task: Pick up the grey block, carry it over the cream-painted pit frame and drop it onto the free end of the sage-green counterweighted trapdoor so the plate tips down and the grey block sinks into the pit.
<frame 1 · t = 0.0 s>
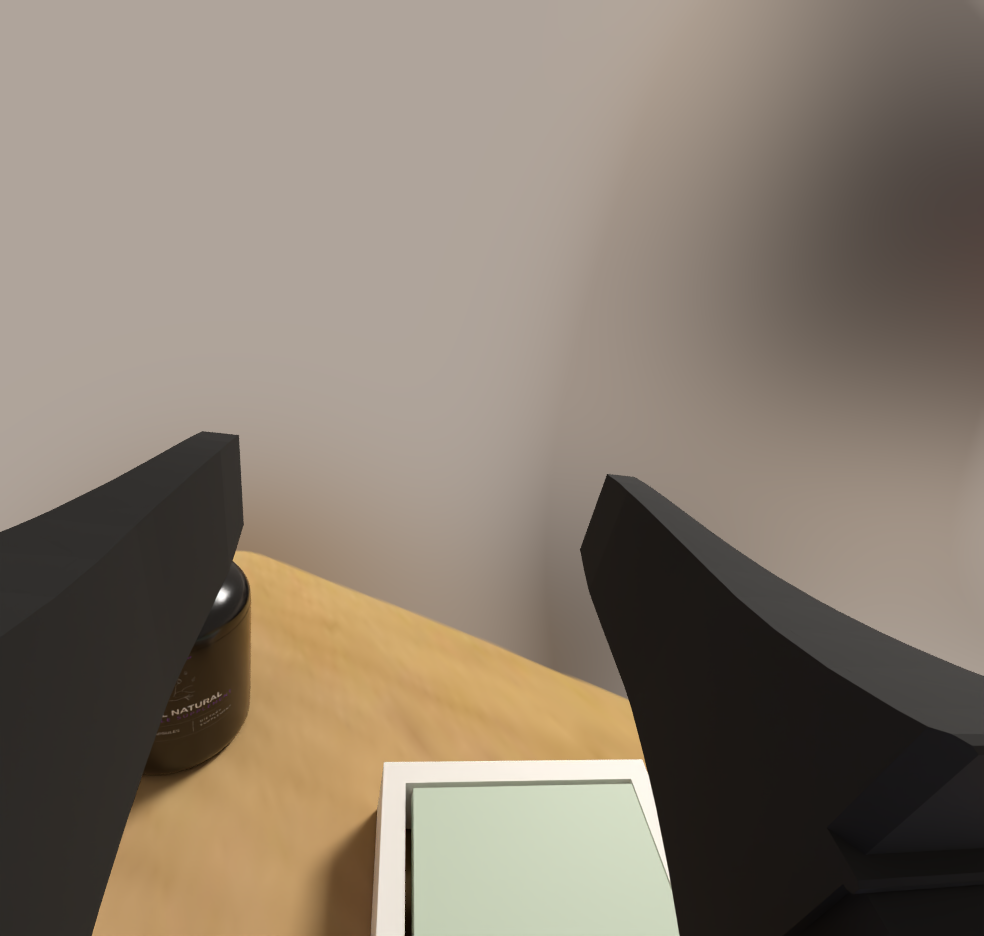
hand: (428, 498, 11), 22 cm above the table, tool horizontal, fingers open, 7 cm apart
trapdoor: (563, 919, 19), point 5 cm above the table, hinge at 0.0°
supplement bottle: (182, 721, 29), on the table
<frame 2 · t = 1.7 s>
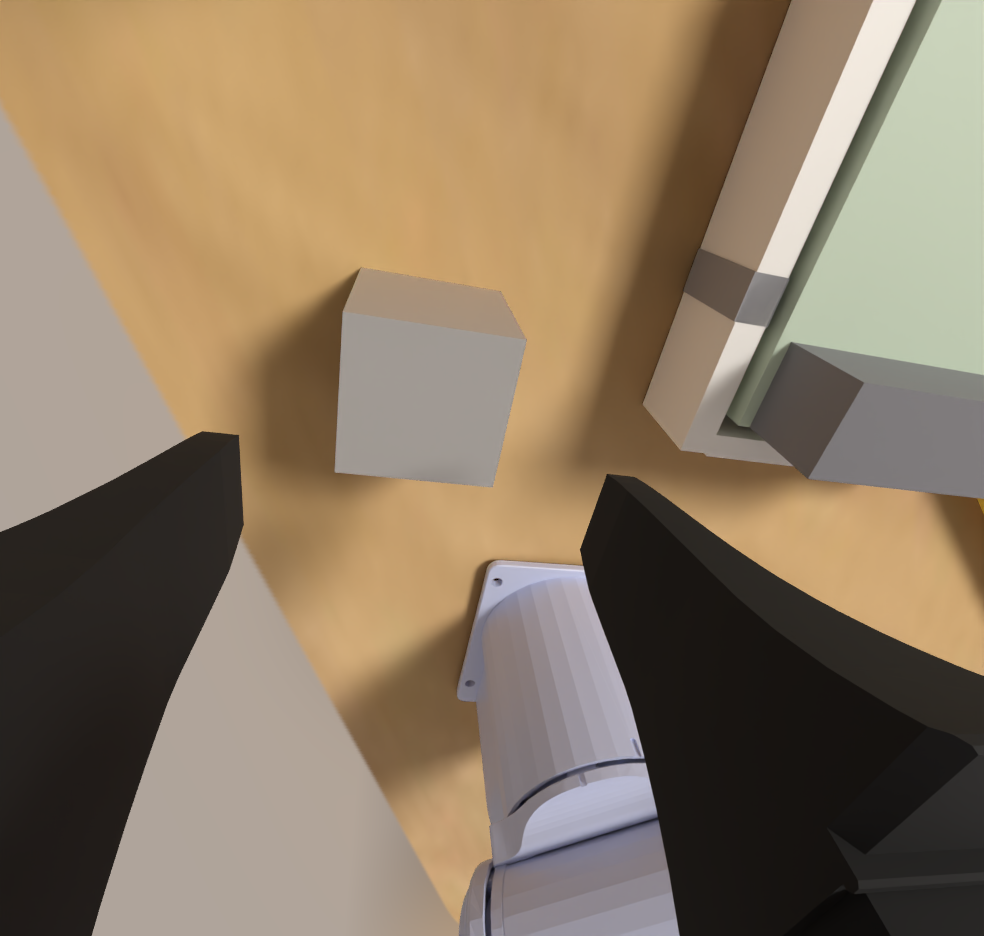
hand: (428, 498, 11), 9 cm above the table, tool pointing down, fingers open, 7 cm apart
trapdoor frame: (885, 243, 18), on the table
grey block: (423, 346, 18), on the table
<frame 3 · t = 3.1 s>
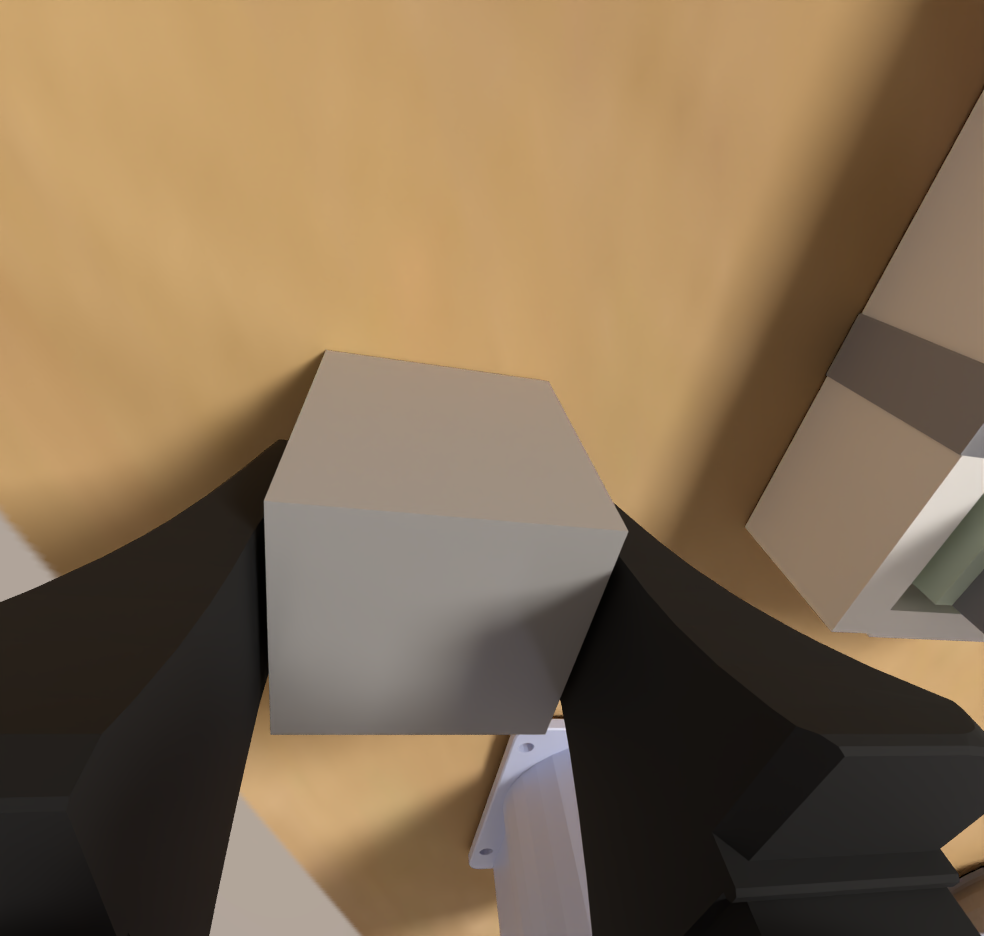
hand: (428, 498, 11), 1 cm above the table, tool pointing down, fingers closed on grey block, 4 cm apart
grey block: (427, 461, 12), on the table, touching gripper
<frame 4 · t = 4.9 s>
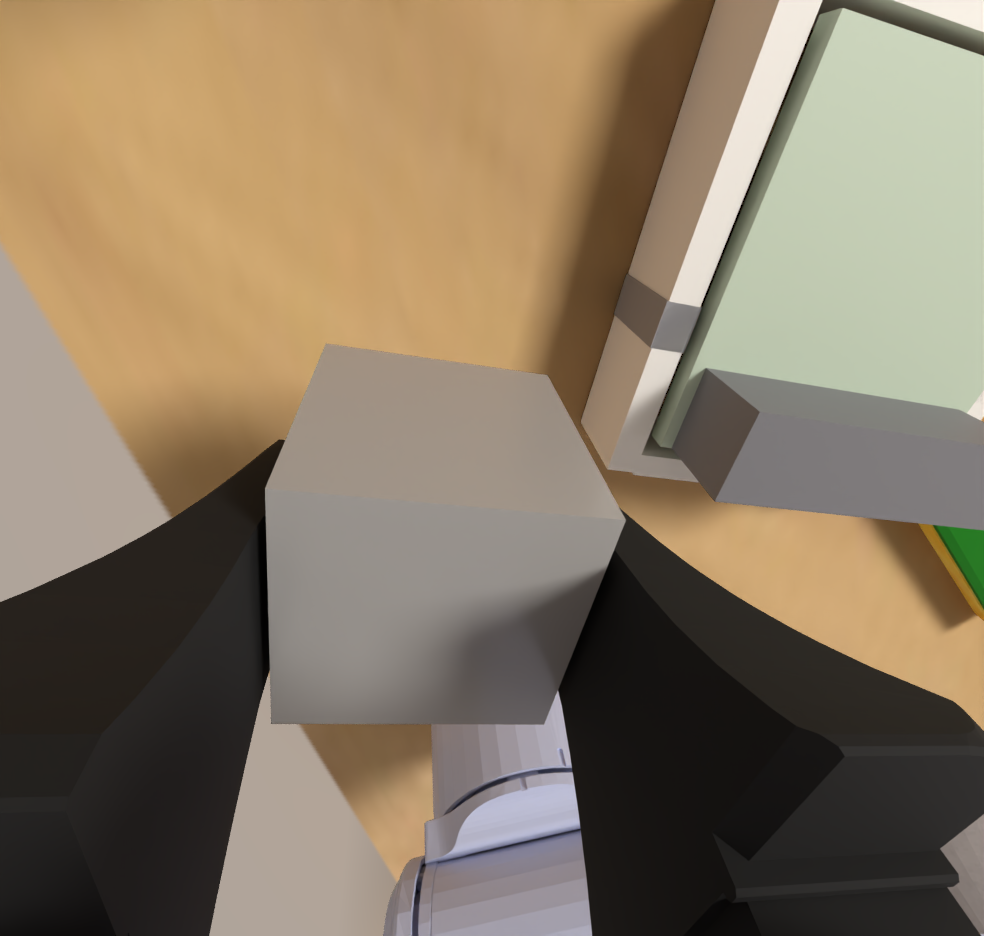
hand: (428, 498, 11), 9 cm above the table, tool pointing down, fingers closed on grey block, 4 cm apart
coffee pot: (867, 787, 42), on the table
trapdoor frame: (809, 269, 19), on the table
trapdoor: (920, 313, 15), point 5 cm above the table, hinge at 0.0°
grey block: (426, 455, 12), point 8 cm above the table, touching gripper
when the fingers open (7 cm above the table, at t = 7.0 s): grey block drops 2 cm, resting on trapdoor.
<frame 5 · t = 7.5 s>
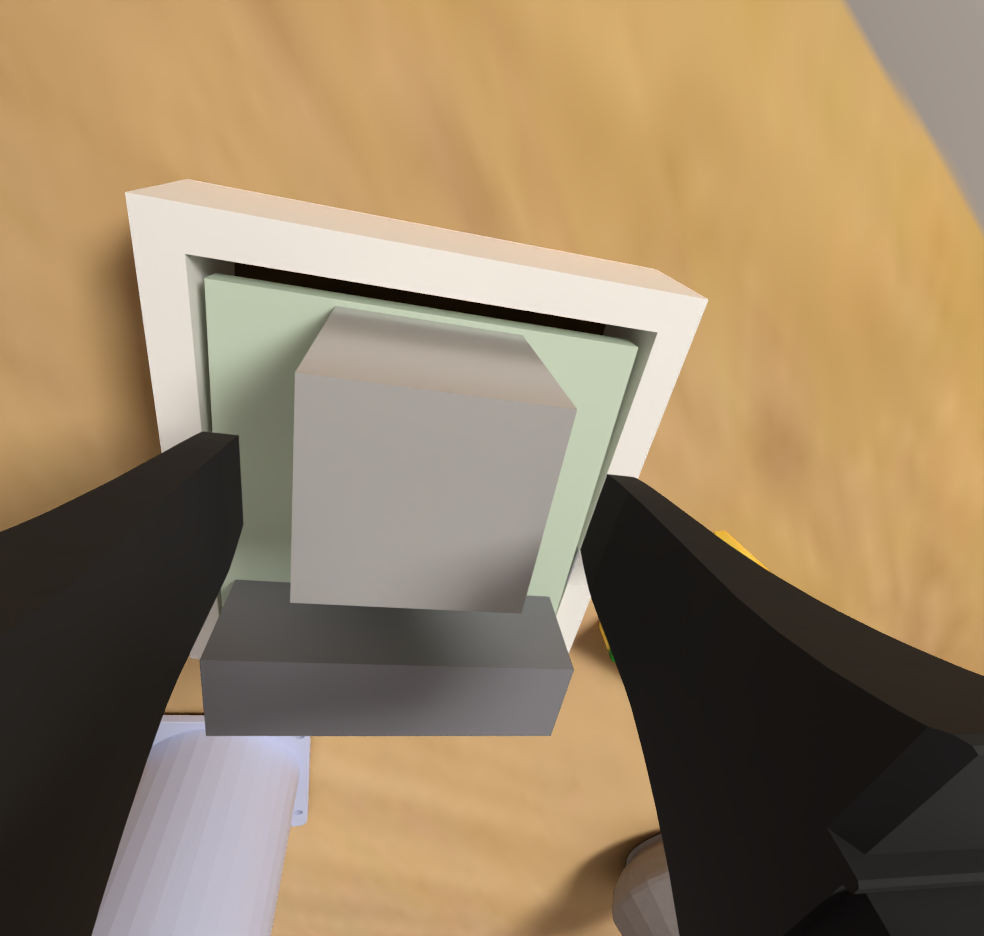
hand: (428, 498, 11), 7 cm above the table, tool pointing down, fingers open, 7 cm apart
coffee pot: (696, 869, 42), on the table
trapdoor frame: (412, 445, 18), on the table
trapdoor: (412, 534, 14), point 5 cm above the table, hinge at -4.2°, touching grey block
grey block: (420, 407, 14), point 4 cm above the table, touching trapdoor
dish sponge: (730, 629, 27), on the table
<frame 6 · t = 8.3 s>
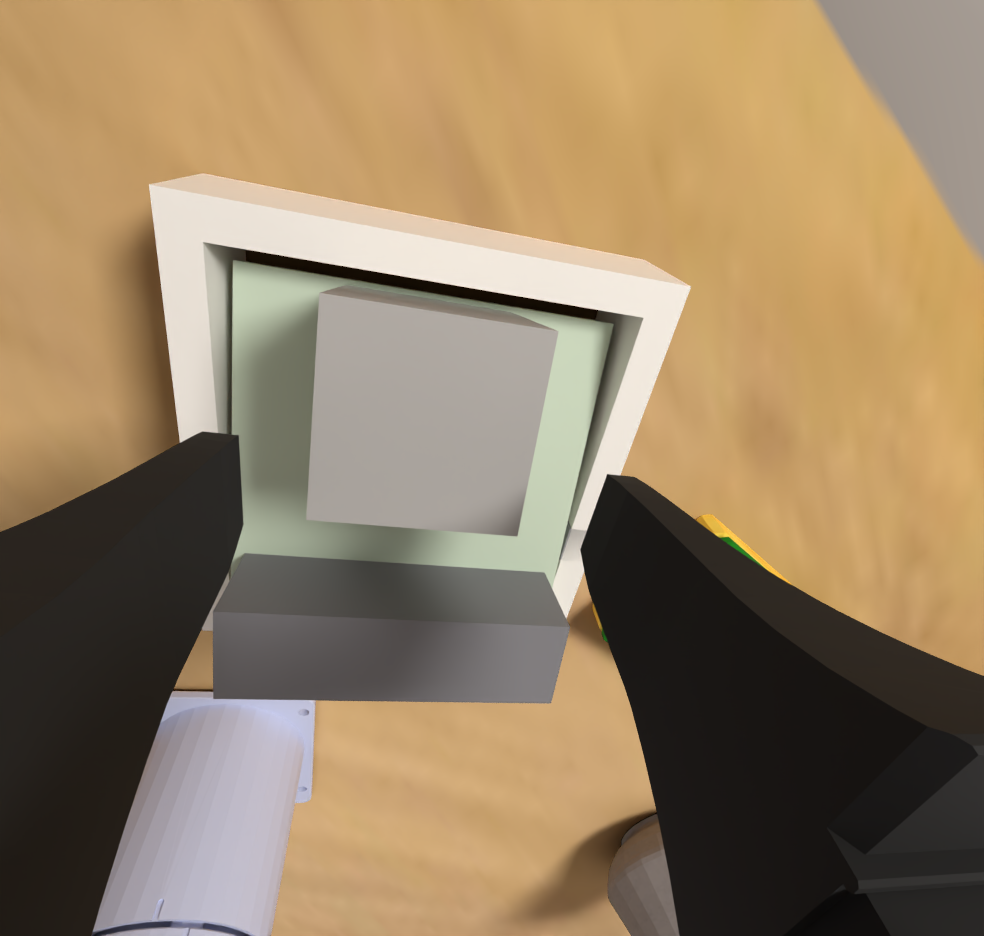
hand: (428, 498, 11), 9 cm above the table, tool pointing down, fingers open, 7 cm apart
coffee pot: (690, 851, 42), on the table
trapdoor frame: (413, 428, 19), on the table
trapdoor: (413, 497, 15), point 5 cm above the table, hinge at -11.9°, touching grey block
grey block: (421, 379, 15), point 3 cm above the table, tilted 12°, touching trapdoor
dish sponge: (720, 611, 28), on the table
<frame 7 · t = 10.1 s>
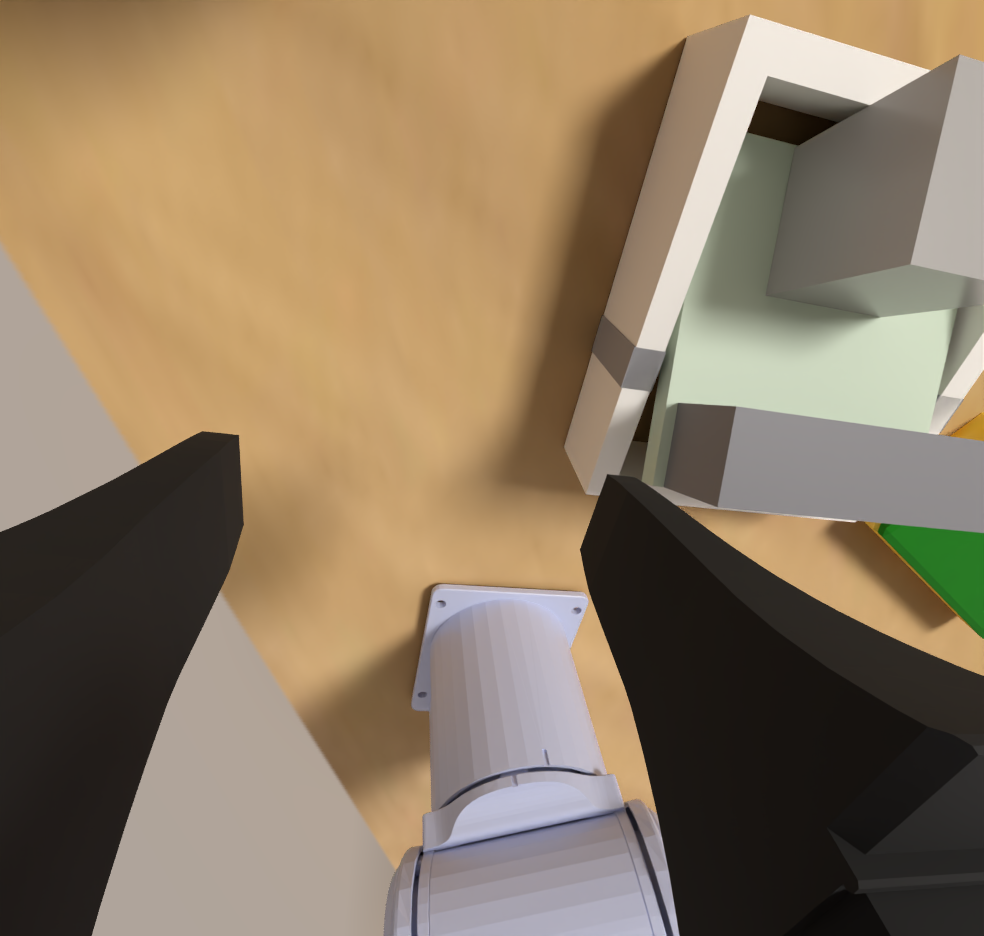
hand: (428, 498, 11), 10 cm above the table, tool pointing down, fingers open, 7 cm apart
trapdoor frame: (771, 308, 21), on the table
trapdoor: (849, 334, 17), point 4 cm above the table, hinge at -23.4°, touching grey block
grey block: (839, 236, 17), point 2 cm above the table, tilted 23°, touching trapdoor, trapdoor frame
dish sponge: (960, 519, 29), on the table
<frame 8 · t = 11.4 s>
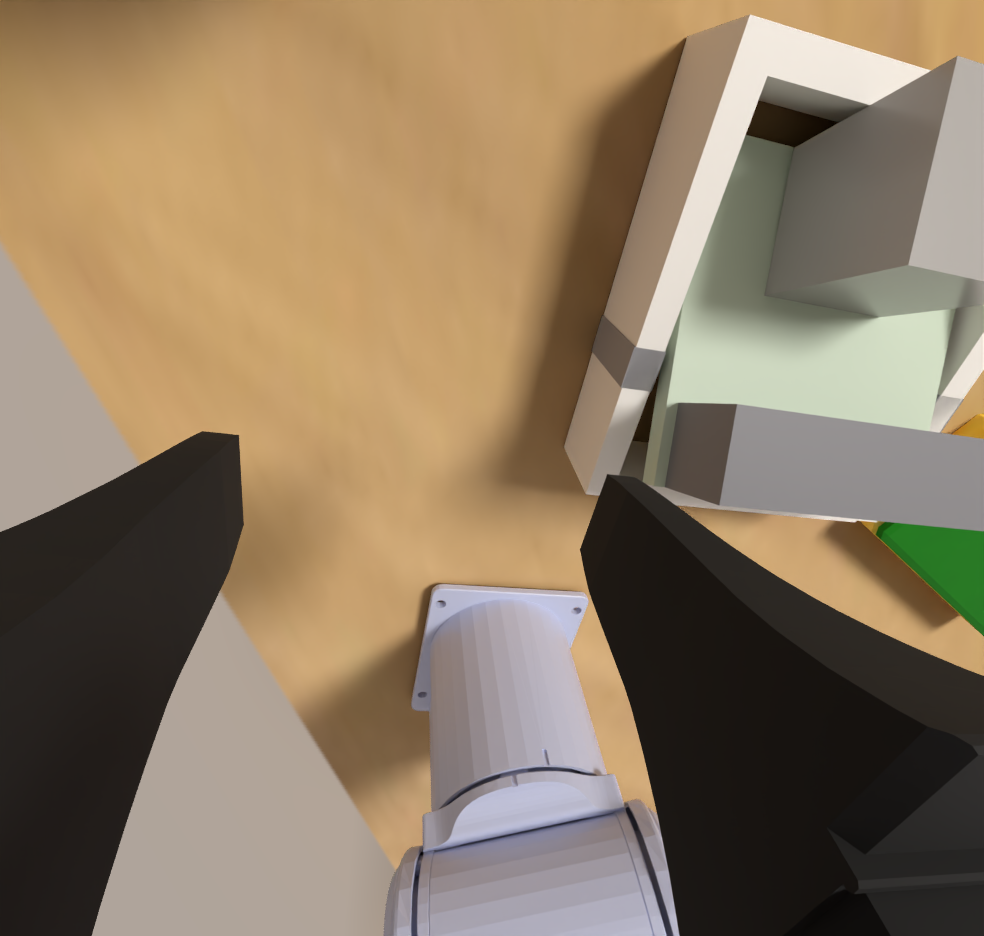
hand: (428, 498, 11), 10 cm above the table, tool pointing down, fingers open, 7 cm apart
trapdoor frame: (771, 308, 21), on the table
trapdoor: (848, 333, 17), point 4 cm above the table, hinge at -24.5°, touching grey block
grey block: (838, 236, 18), point 2 cm above the table, tilted 22°, touching trapdoor, trapdoor frame
dish sponge: (960, 519, 29), on the table
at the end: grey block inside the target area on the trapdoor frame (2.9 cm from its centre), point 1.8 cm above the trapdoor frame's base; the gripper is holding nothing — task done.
